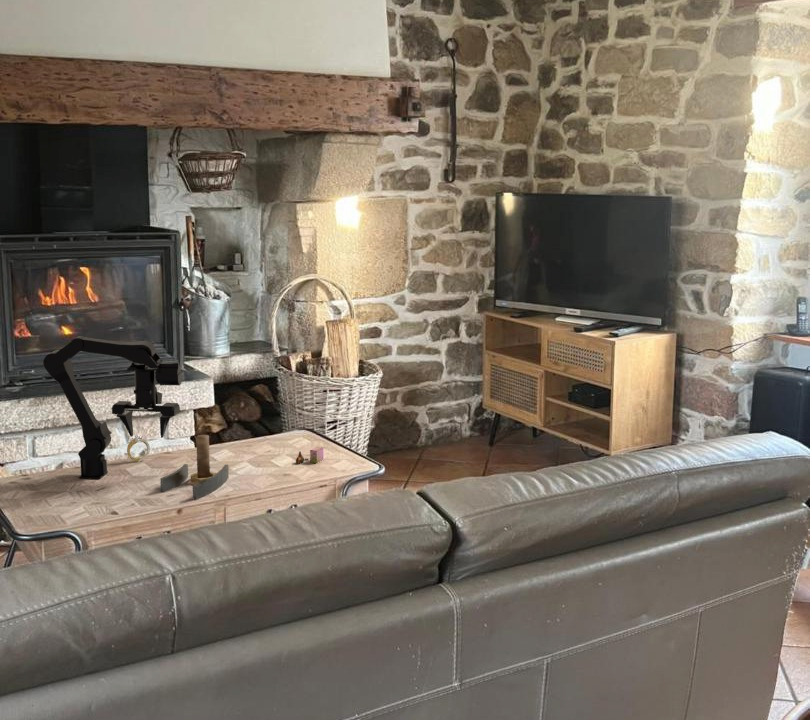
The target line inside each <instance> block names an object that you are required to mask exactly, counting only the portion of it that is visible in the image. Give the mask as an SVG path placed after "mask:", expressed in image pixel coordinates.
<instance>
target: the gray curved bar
mask: <svg viewBox="0 0 810 720" xmlns="http://www.w3.org/2000/svg"><path fill="white" fill-rule="evenodd" d="M215 473H216V474H215V475H213V476H212V477H210V478H208V479H206V480H204V481H202V482H200V483H198V484H192V500H193V501H197V500H199V499H202V498H204V497H206V496H207V495H209V494H212V493H213V492H215V491H216V490H218V489H219V488H221V487H222V486H223V485H224V484H225V483H226V482H227V481H228V480H229V478H230V476H229V474H230V473H229V464H224V465H223V467H222V468H221V469H219V470H218V472H215ZM188 478H189V464H188V463H185V464H183V465H182V466H181V467H180V468H178V469H177V470H175V471H174V472H171V473H170V474H168V475H167V474H166V476H162V477H160V479H159V482H160V492H161V493H165V492H168V491H170V490H173V489H174V487H175V488H176V487H178V486H180V485H181V484H182V483H184V482H185V481H186V480H187V479H188ZM172 488H173V489H172Z"/></svg>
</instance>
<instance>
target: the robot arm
mask: <svg viewBox="0 0 810 720" xmlns="http://www.w3.org/2000/svg"><path fill="white" fill-rule="evenodd" d="M156 351H157V350H156V347H155V345H154V344H153V343H152V342H150V341H147V340H143V341H142V340H141V341H127V342H123V341H122V342H121V341H115V340H107V339H100V338H93V337H86V336H83V335H79V336H76V337H74V338H73V339H71V341H70V342H69V343H67V344H66V345H64V347H62V348H61V349H56V350H54V351H52V352H50V353H48V354H46V355H45V357H44V358H43V362H42V365H43V369H45V371H46V372H47V373H48V375H49V376H50V377H51V378H52V379H54V381H56V382H57V383H58V384H59V386H60V387H61V390H62V392H63V393H64V395H65V397H66V399H67V401H68V403H69V406H70V407H71V409H72V411H73V412H74V414H75V417H76V418H77V420H78V423H79V424H80V426H81V430H82V438H83V440H84V444H85V446H84V447H83V448H82V449H80V451H79V452H78V453H77V454H78V456H79V459H80V460H79V461H80V475H78V479H89V478H92V479H95V480H100V479H102V478H103V477H104V476H106V475H107V474H108V473H109V472H108V463H107V459H106V454H103V453H104V452H105V450H106V449H107V448H108V446H109V445H111V441H112V435H111V434H113V433H112V430H110V429H109V428H108V424H107V422H106V421H103V422H102V423H101V422H100V421H99V420H98V419H97V418H96V416H95V415H94V412H93V410H92V409H91V407H90V405H89V403H88V401H87V399H86V397H85V396H84V394H83V391H82V389H81V387H80V386H79V383H78V382H77V380H76V377H75V375H74V367H73V362H72V358H74V357H75V356H76V355H77V354H79V353H81V352H84V353H92V354H98V355H106V356H113V357H119V358H123V359H125V360H128V361H129V362H131V364H130V365H129V367H127V368H126V370H127V371H128V372H129V371H130V372H134V389H133V394H135V395H134V396H135V399H134V400H135V403H134V404H132V401H130V400H128V401H127V400H119V401H117V402H116V403H114V404H113V405H112V406H111V414H112V415H115V416H116V418H119V419H120V420H121V422H122V424H123V425H124V427H125V429H126V431H127V432H128V435H129V437H133V436H134V425H133V414H134V412H142V413H143V412H146V413H147V412H148V413H160V414H161V416H160V417H159V429H160V430H159V431H160V432H159V434H160V438H161V439H162V438H164V437H165V432H166V431H167V426H168V425H169V422H170V420H171V418H173V417H175V416H176V415H178V414H179V413H180V412H181V410H180V409H181V407H180V404H179V403H178V402H165V403H164V404H162V402H163V393H162V392H161V391H160V392H159V391H158V388H157V386H156V383H157V384H159V385H160V386H181V384H182V380H183V375H182V373H183V372H182V369H181V366H180V362H179V361H174V362H164V361H163V359H162V358H161V357H160V356H159V354H158V353H157V352H156ZM92 479H91V480H92Z"/></svg>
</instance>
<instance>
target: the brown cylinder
mask: <svg viewBox="0 0 810 720" xmlns="http://www.w3.org/2000/svg"><path fill="white" fill-rule="evenodd" d="M195 440H196V441H195V442H196V472H193V473H191V474H190V480H191V481H192V482H195V483H200V482H202V481H204V480H206V479H208V478H210V477H212V476H213V475H215V474H216V473H217V472H213V471H211V468H210V467H211V463H210V460H211V459H210V436H209V435H208V434H198V435H196V439H195Z"/></svg>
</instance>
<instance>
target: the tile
mask: <svg viewBox="0 0 810 720" xmlns="http://www.w3.org/2000/svg"><path fill="white" fill-rule="evenodd" d="M195 484H198V483H195V482H192V481H191V479H190V480H188V482H187V485H195Z"/></svg>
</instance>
